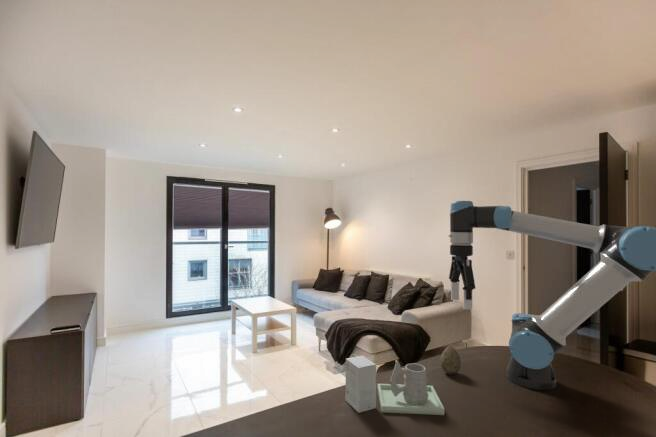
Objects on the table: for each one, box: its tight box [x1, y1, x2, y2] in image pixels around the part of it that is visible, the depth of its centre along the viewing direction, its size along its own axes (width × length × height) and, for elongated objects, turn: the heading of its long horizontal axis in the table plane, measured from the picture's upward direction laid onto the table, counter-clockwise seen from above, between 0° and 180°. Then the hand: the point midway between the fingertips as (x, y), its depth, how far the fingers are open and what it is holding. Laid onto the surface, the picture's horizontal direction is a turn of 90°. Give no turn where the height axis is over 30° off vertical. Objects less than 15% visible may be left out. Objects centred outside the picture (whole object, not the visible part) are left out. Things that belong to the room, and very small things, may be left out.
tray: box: [376, 383, 446, 416], centre depth 105 cm, size 18×14×2 cm
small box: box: [344, 355, 377, 414], centre depth 103 cm, size 8×6×13 cm
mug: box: [389, 359, 428, 405], centre depth 105 cm, size 8×12×12 cm, turn 94°
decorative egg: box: [440, 346, 462, 375], centre depth 125 cm, size 7×7×10 cm
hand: (460, 304), depth 121 cm, fingers open, 13 cm apart
